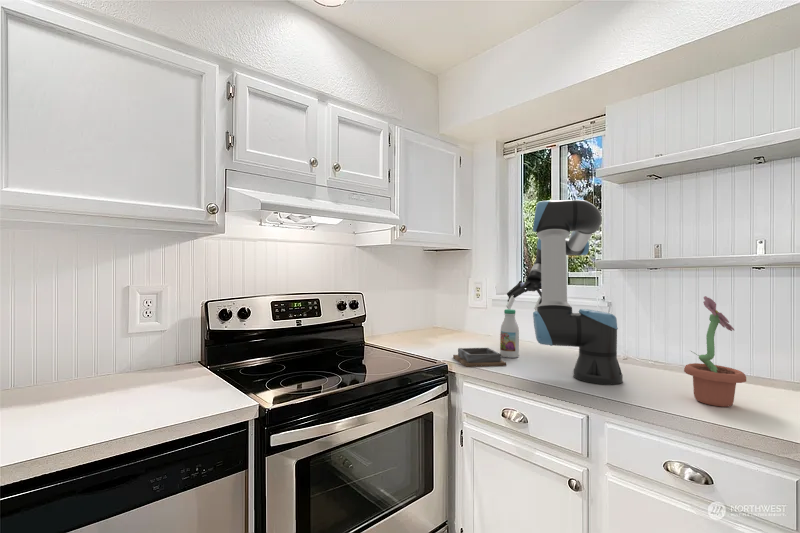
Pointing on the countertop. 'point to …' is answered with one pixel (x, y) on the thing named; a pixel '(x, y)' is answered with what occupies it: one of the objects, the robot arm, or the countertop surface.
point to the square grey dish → (478, 357)
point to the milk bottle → (509, 335)
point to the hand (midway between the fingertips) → (521, 309)
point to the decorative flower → (714, 368)
